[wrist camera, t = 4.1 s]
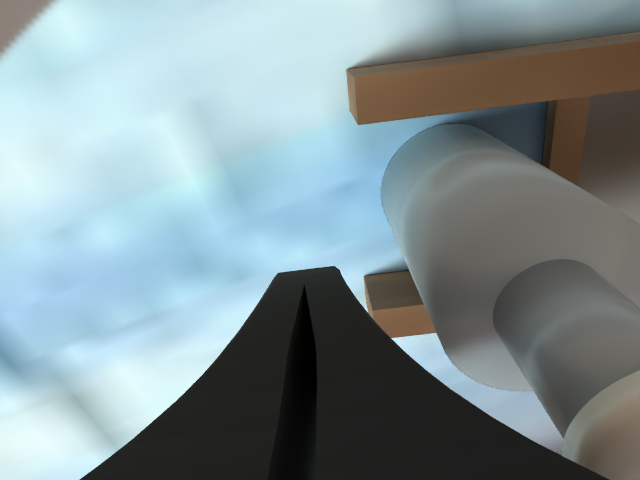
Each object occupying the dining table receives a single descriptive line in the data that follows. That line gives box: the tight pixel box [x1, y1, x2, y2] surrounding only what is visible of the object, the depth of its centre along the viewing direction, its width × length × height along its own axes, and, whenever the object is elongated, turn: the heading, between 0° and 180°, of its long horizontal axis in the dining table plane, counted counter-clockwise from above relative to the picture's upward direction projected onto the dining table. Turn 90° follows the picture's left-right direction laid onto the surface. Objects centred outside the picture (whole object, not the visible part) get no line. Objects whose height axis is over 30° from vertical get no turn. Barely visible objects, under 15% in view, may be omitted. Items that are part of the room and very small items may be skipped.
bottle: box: [381, 123, 640, 480], centre depth 10 cm, size 4×4×11 cm
